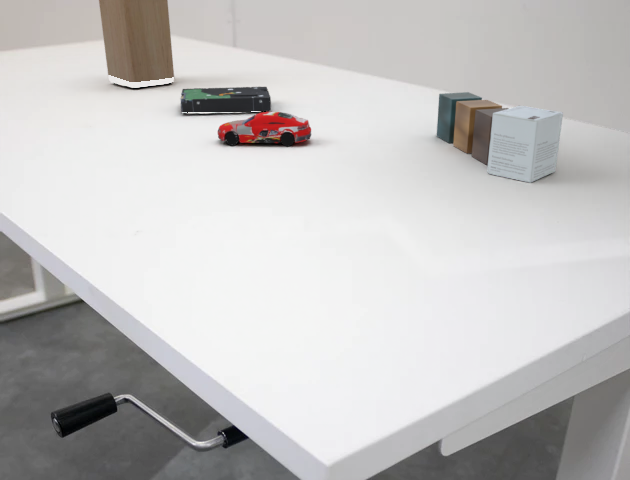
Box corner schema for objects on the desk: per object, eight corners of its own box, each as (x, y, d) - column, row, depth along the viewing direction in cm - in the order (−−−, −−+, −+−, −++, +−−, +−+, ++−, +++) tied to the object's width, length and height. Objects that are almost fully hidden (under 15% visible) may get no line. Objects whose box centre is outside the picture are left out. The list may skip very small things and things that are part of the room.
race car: (214, 146, 105) (212, 117, 103) (222, 137, 110) (220, 109, 108) (308, 147, 104) (308, 117, 102) (312, 138, 108) (312, 109, 107)
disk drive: (267, 102, 134) (182, 103, 133) (266, 86, 133) (181, 87, 131) (271, 113, 125) (181, 115, 123) (271, 96, 124) (180, 98, 122)
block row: (519, 162, 96) (524, 114, 93) (486, 165, 95) (491, 116, 92) (465, 134, 110) (468, 92, 107) (436, 136, 109) (439, 93, 107)
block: (107, 84, 152) (93, -25, 143) (150, 78, 158) (140, -27, 149) (132, 90, 145) (120, -24, 137) (176, 84, 151) (167, -25, 143)
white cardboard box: (511, 164, 95) (518, 104, 92) (556, 173, 91) (564, 111, 88) (485, 174, 91) (491, 112, 88) (531, 183, 87) (538, 119, 84)
